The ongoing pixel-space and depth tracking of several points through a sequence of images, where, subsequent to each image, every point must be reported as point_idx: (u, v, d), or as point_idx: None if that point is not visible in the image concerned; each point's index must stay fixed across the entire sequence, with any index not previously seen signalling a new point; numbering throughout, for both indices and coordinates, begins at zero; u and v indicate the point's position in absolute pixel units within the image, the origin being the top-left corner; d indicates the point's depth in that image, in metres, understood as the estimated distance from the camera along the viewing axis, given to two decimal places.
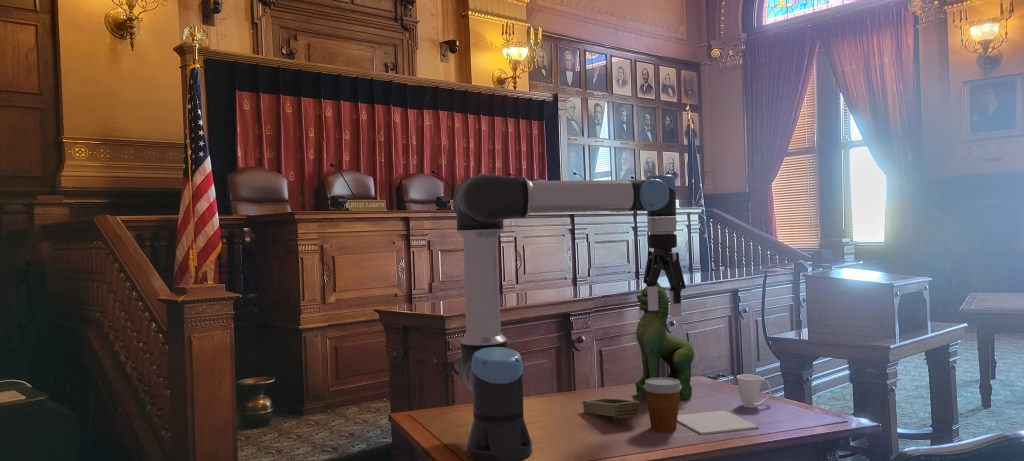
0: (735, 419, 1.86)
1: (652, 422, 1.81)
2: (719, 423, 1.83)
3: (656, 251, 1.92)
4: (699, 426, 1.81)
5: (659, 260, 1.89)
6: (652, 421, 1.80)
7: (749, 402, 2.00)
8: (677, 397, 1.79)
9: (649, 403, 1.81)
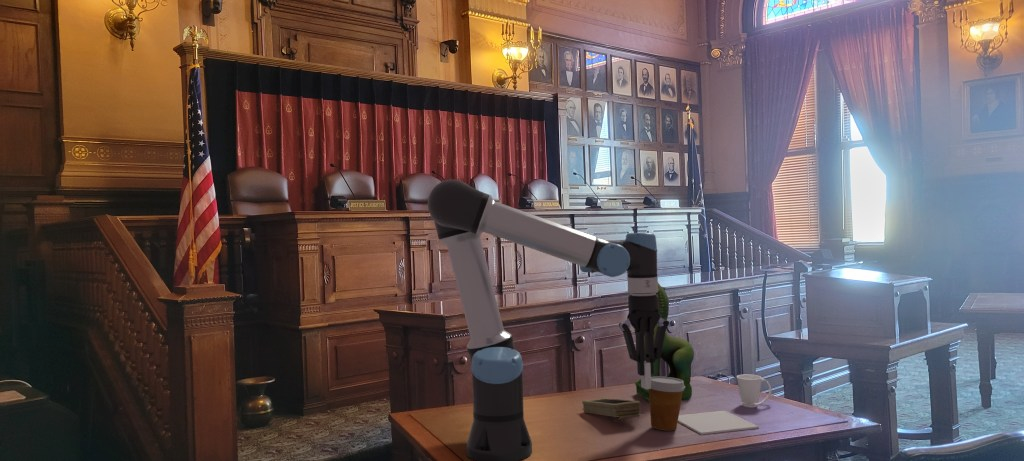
0: (735, 419, 1.86)
1: (653, 420, 1.81)
2: (719, 423, 1.83)
3: None
4: (699, 426, 1.81)
5: None
6: (653, 418, 1.81)
7: (749, 402, 2.00)
8: (680, 397, 1.79)
9: (651, 400, 1.81)
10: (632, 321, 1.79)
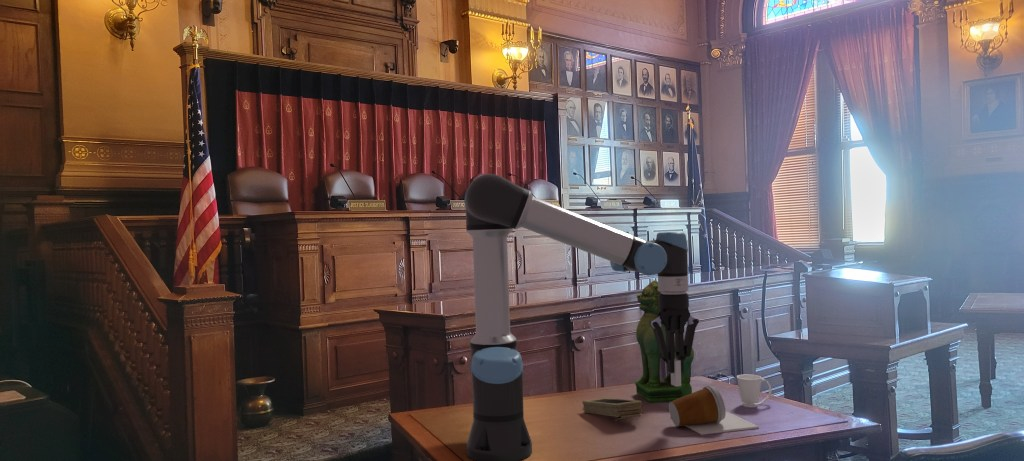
0: (735, 419, 1.86)
1: (680, 401, 1.81)
2: (719, 423, 1.83)
3: None
4: (699, 426, 1.81)
5: None
6: (682, 400, 1.81)
7: (749, 402, 2.00)
8: (711, 419, 1.81)
9: (697, 394, 1.82)
10: (663, 319, 1.81)
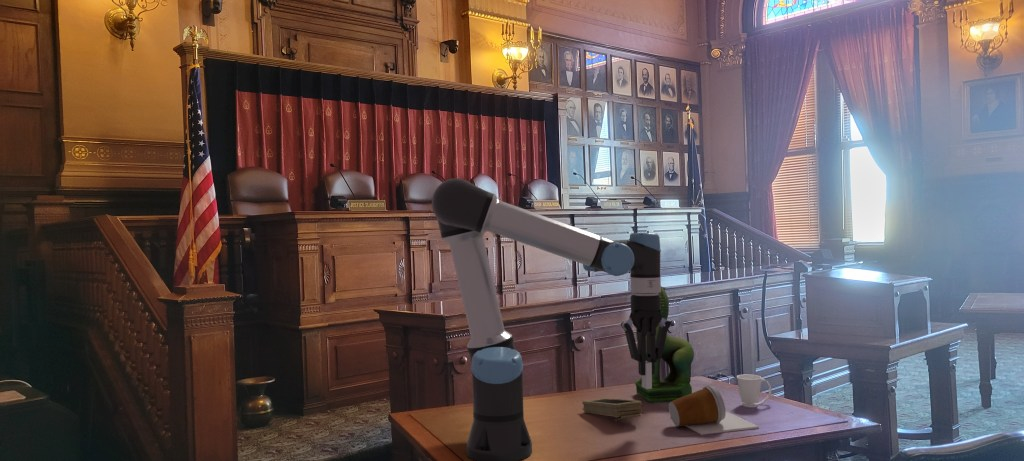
0: (735, 419, 1.86)
1: (680, 401, 1.81)
2: (719, 423, 1.83)
3: None
4: (699, 426, 1.81)
5: None
6: (682, 400, 1.81)
7: (749, 402, 2.00)
8: (711, 419, 1.81)
9: (697, 394, 1.82)
10: (634, 321, 1.79)
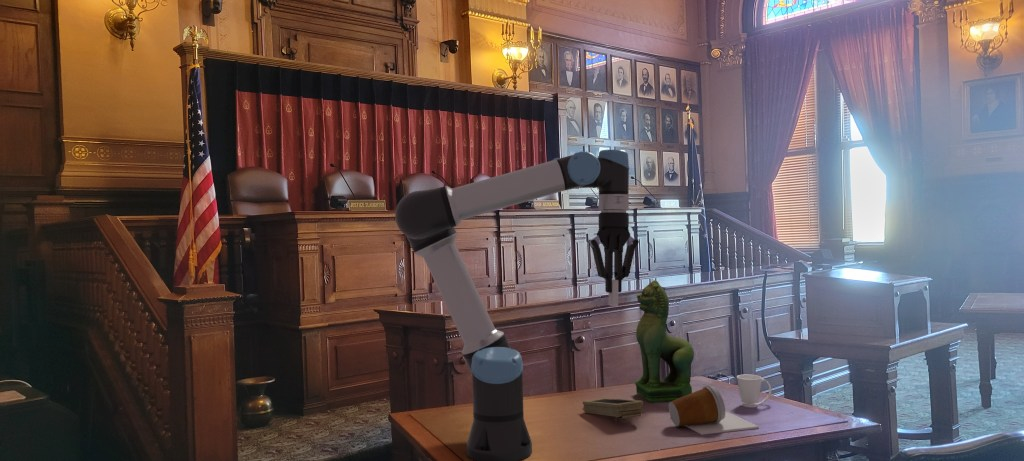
0: (735, 419, 1.86)
1: (680, 400, 1.82)
2: (719, 423, 1.83)
3: None
4: (699, 426, 1.81)
5: None
6: (681, 400, 1.81)
7: (749, 402, 2.00)
8: (711, 419, 1.81)
9: (696, 393, 1.82)
10: (601, 237, 1.79)
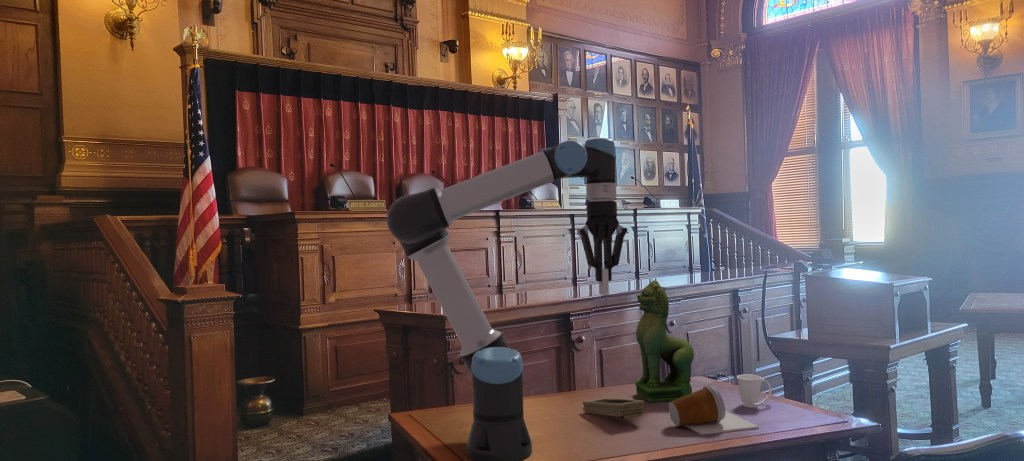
0: (735, 419, 1.86)
1: (680, 400, 1.82)
2: (719, 423, 1.83)
3: None
4: (699, 426, 1.81)
5: None
6: (681, 400, 1.81)
7: (749, 402, 2.00)
8: (711, 419, 1.81)
9: (696, 393, 1.82)
10: (590, 227, 1.79)
